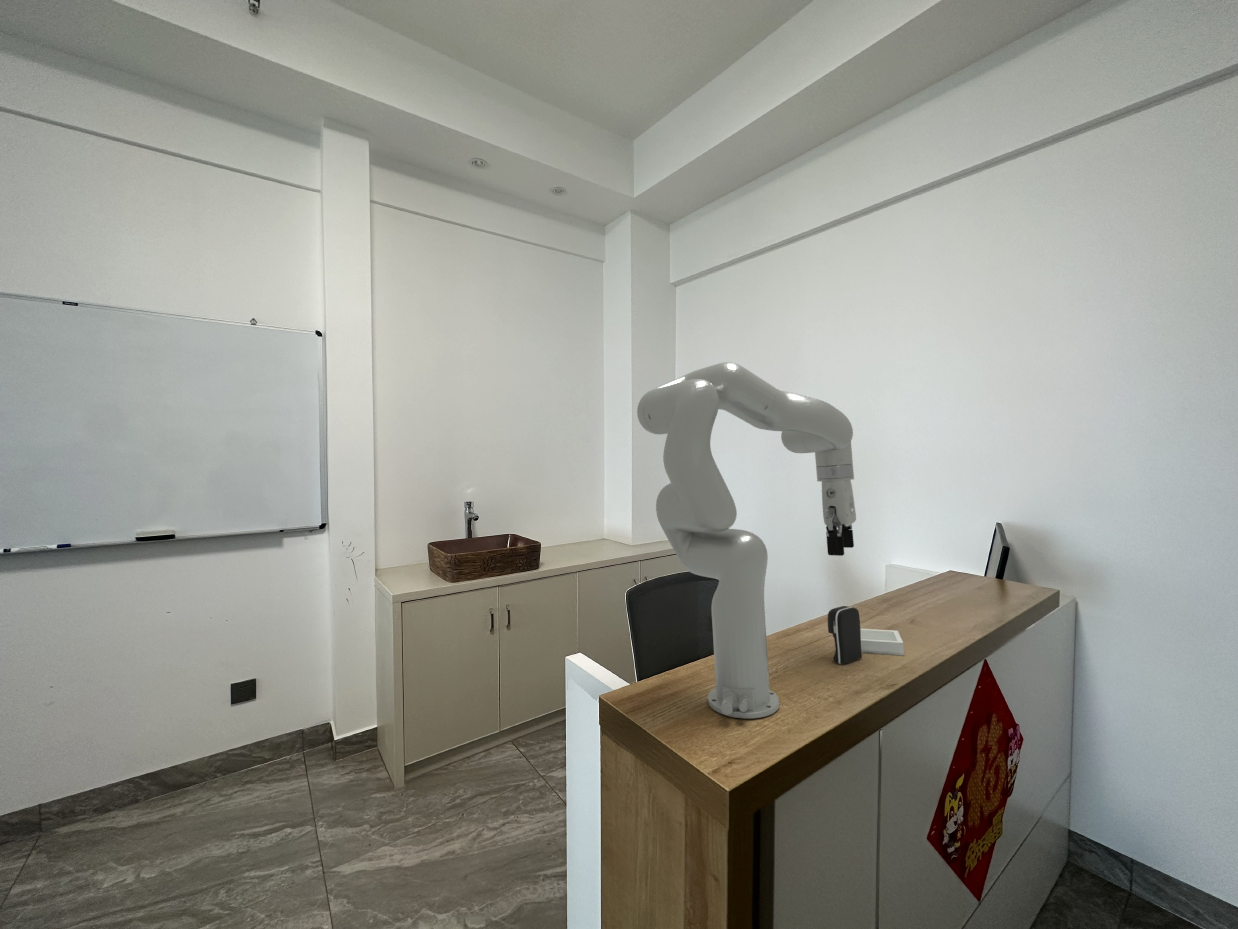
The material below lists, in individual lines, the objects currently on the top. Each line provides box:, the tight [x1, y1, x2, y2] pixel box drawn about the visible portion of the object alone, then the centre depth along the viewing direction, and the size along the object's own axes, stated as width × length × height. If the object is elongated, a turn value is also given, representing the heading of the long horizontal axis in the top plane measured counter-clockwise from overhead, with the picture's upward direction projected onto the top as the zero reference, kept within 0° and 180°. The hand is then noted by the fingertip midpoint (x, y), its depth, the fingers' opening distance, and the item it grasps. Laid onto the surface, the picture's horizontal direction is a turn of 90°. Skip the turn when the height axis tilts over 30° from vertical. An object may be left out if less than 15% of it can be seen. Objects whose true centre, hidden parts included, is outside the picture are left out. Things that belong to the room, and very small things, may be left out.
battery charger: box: [827, 605, 863, 665], centre depth 111 cm, size 7×4×11 cm, turn 120°
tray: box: [860, 628, 905, 657], centre depth 118 cm, size 9×12×3 cm
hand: (841, 551), depth 112 cm, fingers open, 9 cm apart
